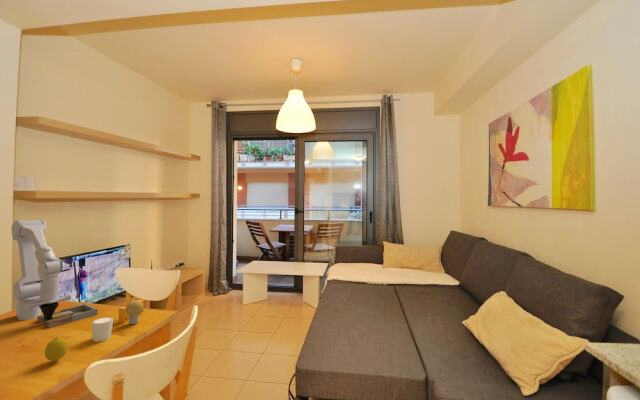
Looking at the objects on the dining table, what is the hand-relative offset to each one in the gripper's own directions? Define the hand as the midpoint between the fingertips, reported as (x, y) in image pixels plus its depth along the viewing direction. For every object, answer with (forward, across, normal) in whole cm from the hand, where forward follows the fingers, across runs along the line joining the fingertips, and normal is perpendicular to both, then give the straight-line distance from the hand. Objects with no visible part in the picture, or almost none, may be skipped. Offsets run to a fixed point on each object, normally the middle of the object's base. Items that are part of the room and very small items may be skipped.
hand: (47, 320), depth 121 cm
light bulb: (+2, +21, -27) cm, 34 cm away
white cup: (+2, +7, -31) cm, 32 cm away
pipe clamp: (+2, +23, -19) cm, 30 cm away
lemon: (+2, -9, -37) cm, 38 cm away
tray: (+1, +11, 0) cm, 11 cm away
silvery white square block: (+1, +6, 0) cm, 6 cm away
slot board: (+2, +7, 0) cm, 7 cm away
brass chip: (+1, +3, 0) cm, 3 cm away
